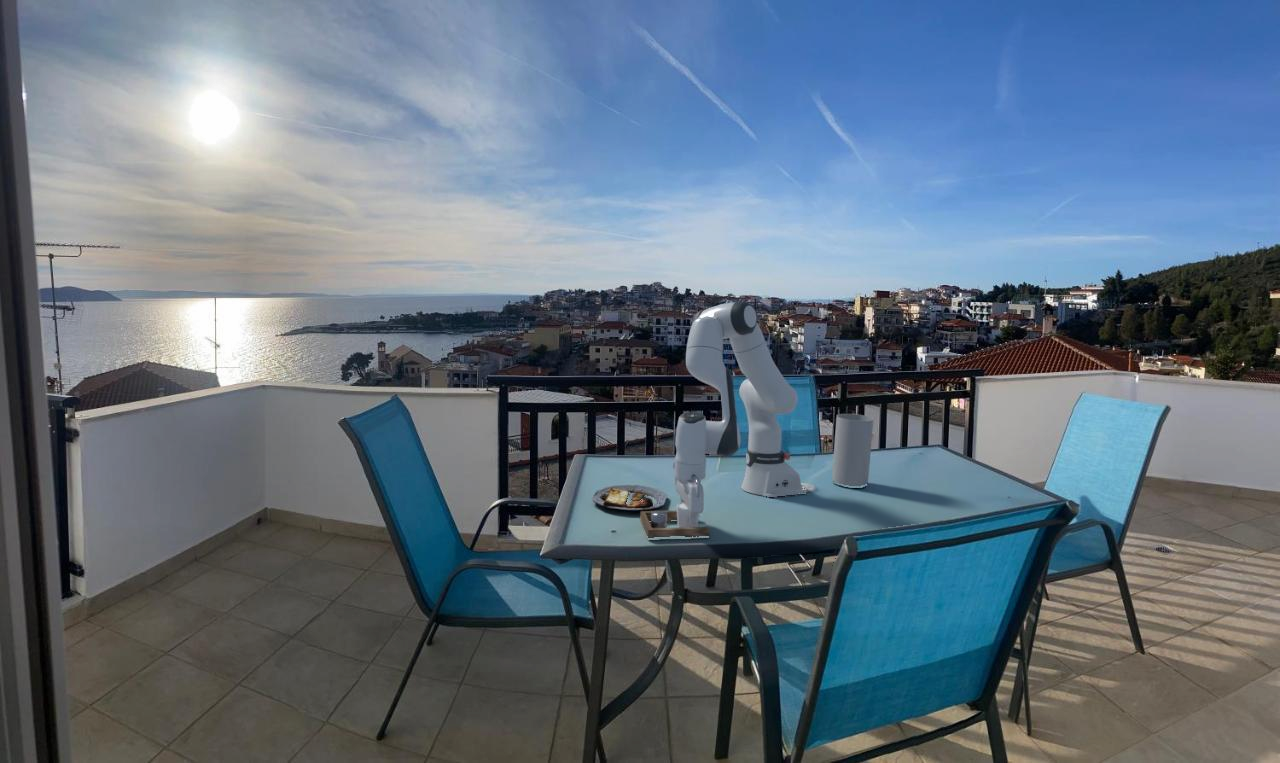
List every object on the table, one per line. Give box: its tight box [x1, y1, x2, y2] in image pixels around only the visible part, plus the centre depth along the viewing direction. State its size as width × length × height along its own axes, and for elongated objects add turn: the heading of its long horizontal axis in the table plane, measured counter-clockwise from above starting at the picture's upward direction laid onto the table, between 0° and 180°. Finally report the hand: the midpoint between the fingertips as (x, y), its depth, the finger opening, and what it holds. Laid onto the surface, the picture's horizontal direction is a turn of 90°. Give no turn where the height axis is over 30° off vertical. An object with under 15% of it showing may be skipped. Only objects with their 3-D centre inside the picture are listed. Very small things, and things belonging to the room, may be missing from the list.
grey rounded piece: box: [650, 510, 668, 528], centre depth 170 cm, size 5×5×5 cm
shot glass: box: [676, 502, 700, 528], centre depth 171 cm, size 7×7×7 cm
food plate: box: [591, 484, 668, 512], centre depth 193 cm, size 25×23×4 cm
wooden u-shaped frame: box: [639, 510, 711, 538], centre depth 170 cm, size 17×14×3 cm
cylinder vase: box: [831, 413, 874, 486], centre depth 217 cm, size 12×12×25 cm
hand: (688, 517), depth 171 cm, fingers open, 8 cm apart
